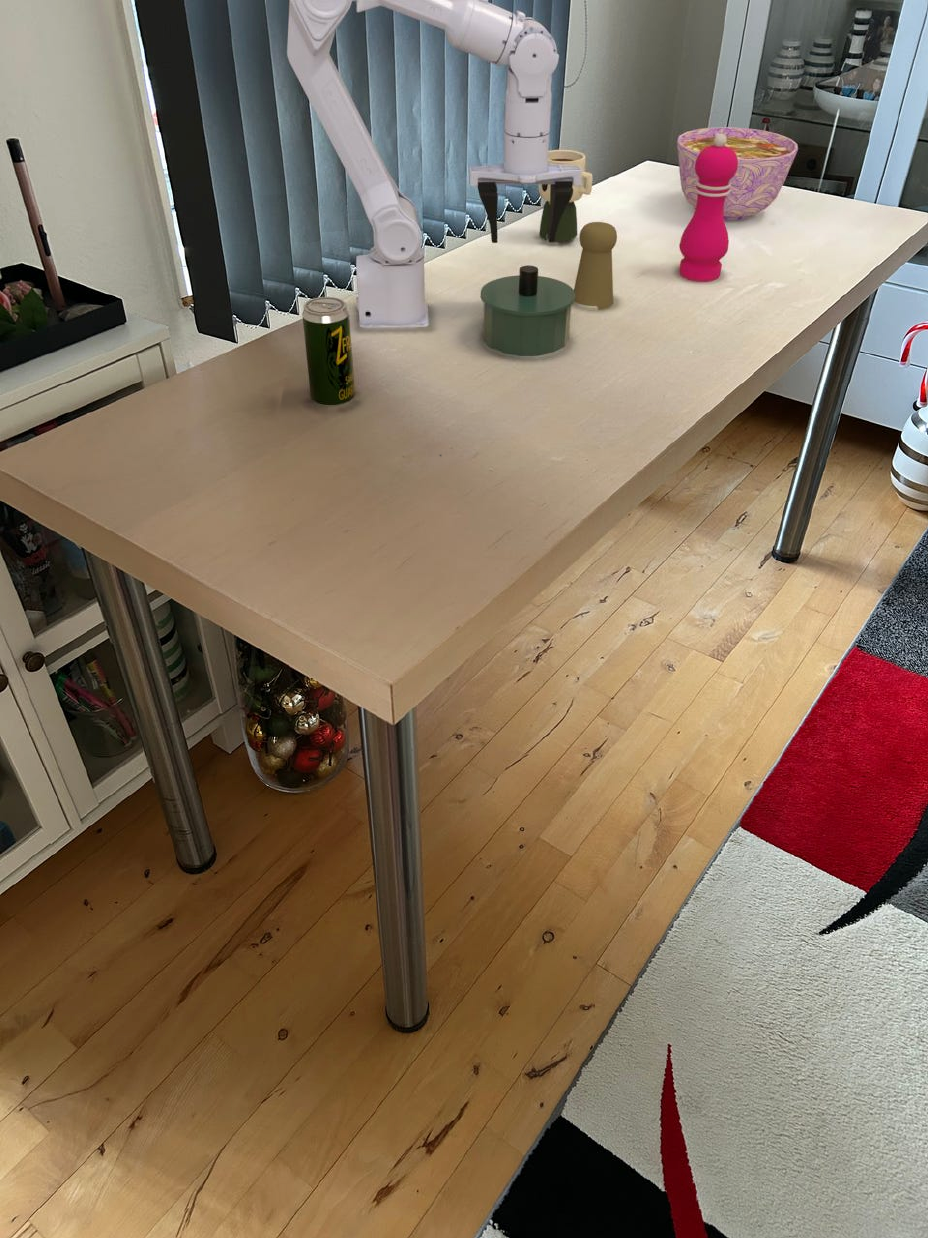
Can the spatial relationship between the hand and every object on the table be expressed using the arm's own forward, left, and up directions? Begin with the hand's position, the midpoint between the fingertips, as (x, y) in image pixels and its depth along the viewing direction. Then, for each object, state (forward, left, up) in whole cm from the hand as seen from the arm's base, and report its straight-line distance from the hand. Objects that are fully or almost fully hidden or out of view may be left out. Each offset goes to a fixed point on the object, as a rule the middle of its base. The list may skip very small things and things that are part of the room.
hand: (522, 239), depth 136 cm
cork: (+11, +4, -11) cm, 16 cm away
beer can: (-25, -25, -11) cm, 37 cm away
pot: (0, -9, -10) cm, 14 cm away
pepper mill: (+29, +14, -11) cm, 34 cm away
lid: (0, -9, -4) cm, 10 cm away
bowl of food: (+40, +42, -11) cm, 59 cm away
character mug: (+9, +30, -11) cm, 33 cm away
